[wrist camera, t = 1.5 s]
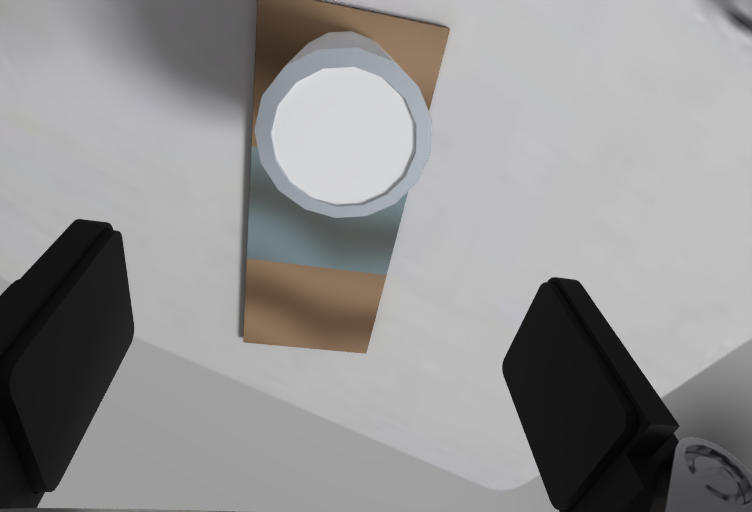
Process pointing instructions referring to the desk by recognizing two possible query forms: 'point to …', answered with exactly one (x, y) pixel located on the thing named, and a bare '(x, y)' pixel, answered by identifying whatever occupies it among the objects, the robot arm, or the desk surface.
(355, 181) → the white cup
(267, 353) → the desk surface
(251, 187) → the game board
